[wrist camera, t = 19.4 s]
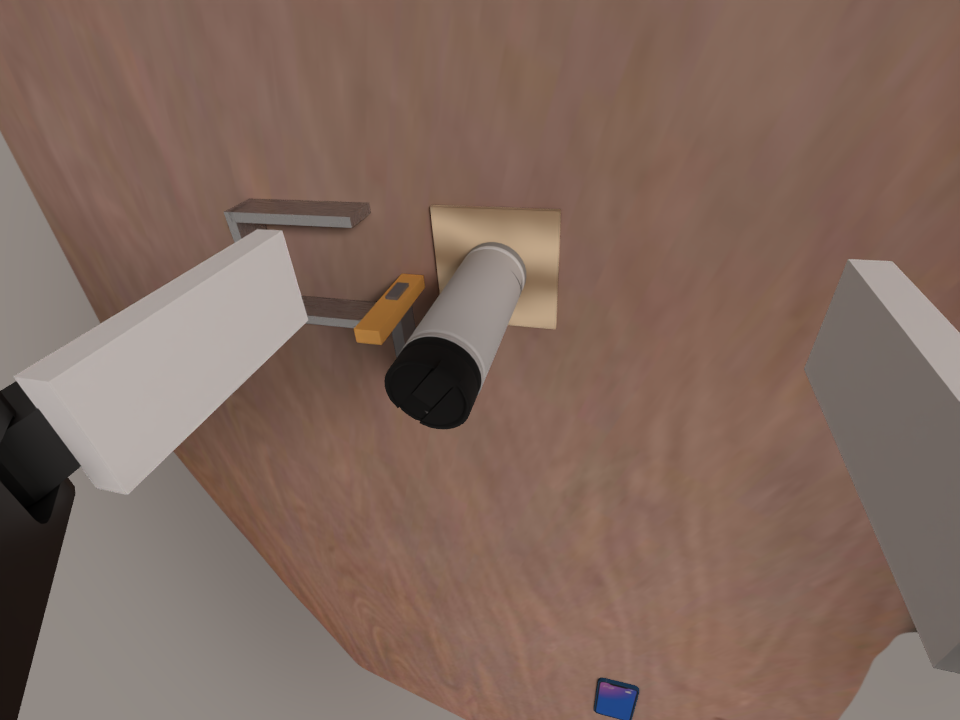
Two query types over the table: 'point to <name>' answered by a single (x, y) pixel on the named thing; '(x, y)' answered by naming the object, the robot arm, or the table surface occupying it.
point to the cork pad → (515, 228)
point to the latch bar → (392, 314)
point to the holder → (306, 214)
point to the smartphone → (615, 699)
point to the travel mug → (458, 339)
